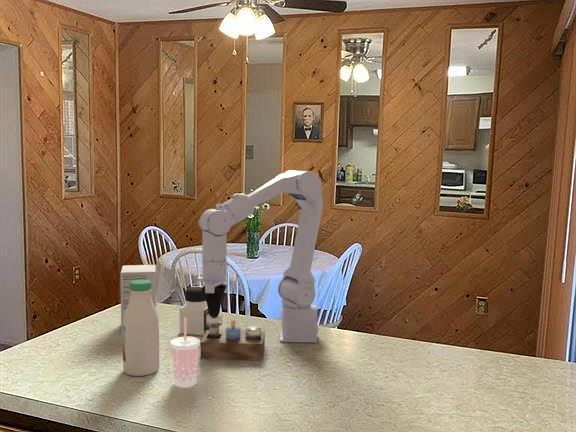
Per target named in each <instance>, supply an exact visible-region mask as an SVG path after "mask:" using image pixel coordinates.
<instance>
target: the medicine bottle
mask: <svg viewBox="0 0 576 432" xmlns="http://www.w3.org/2000/svg"><path fill="white" fill-rule="evenodd" d="M202 287H203V286H201V285H194V286H189V287H188V288H186V289H185V291H184V293H185V294H184V295H185V296H184V297H185V299H184V300H185V301H184V303H185V304H183V305H182V306H180V307H179V334H182V335H184V318H185V317H186V335H195V336H196V335H197V336H204V335H205V333H206V331H207V330H209V326H207V325H206V316H207V315H209V312H208V307H207V302H206V299H205V297H204V295H203V293H202V290H201V288H202Z"/></svg>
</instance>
